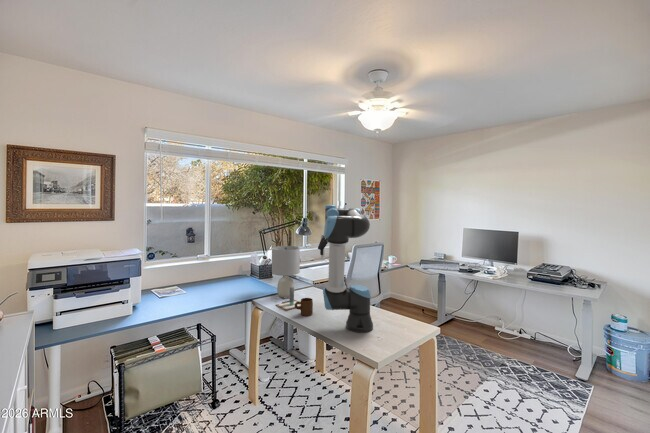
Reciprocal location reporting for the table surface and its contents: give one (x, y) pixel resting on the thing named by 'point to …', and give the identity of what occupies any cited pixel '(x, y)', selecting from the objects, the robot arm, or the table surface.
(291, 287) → the marker
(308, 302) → the mug
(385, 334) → the table surface
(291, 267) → the lamp
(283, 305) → the clipboard
